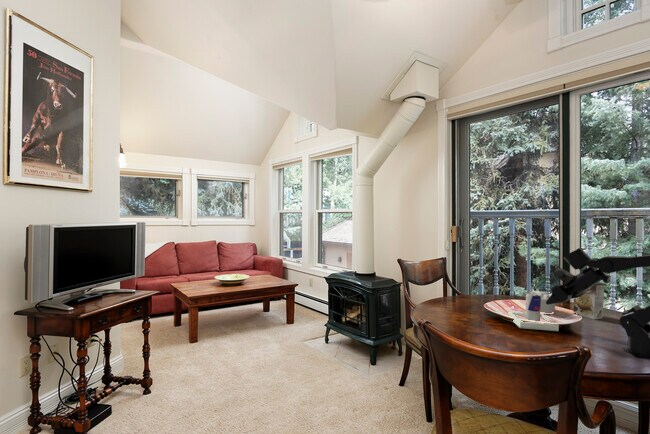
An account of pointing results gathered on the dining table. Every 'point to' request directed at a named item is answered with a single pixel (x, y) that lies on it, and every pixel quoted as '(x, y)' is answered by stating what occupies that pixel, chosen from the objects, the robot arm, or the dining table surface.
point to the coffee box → (591, 302)
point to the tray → (534, 323)
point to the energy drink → (533, 306)
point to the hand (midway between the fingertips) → (551, 301)
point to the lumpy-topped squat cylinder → (544, 298)
